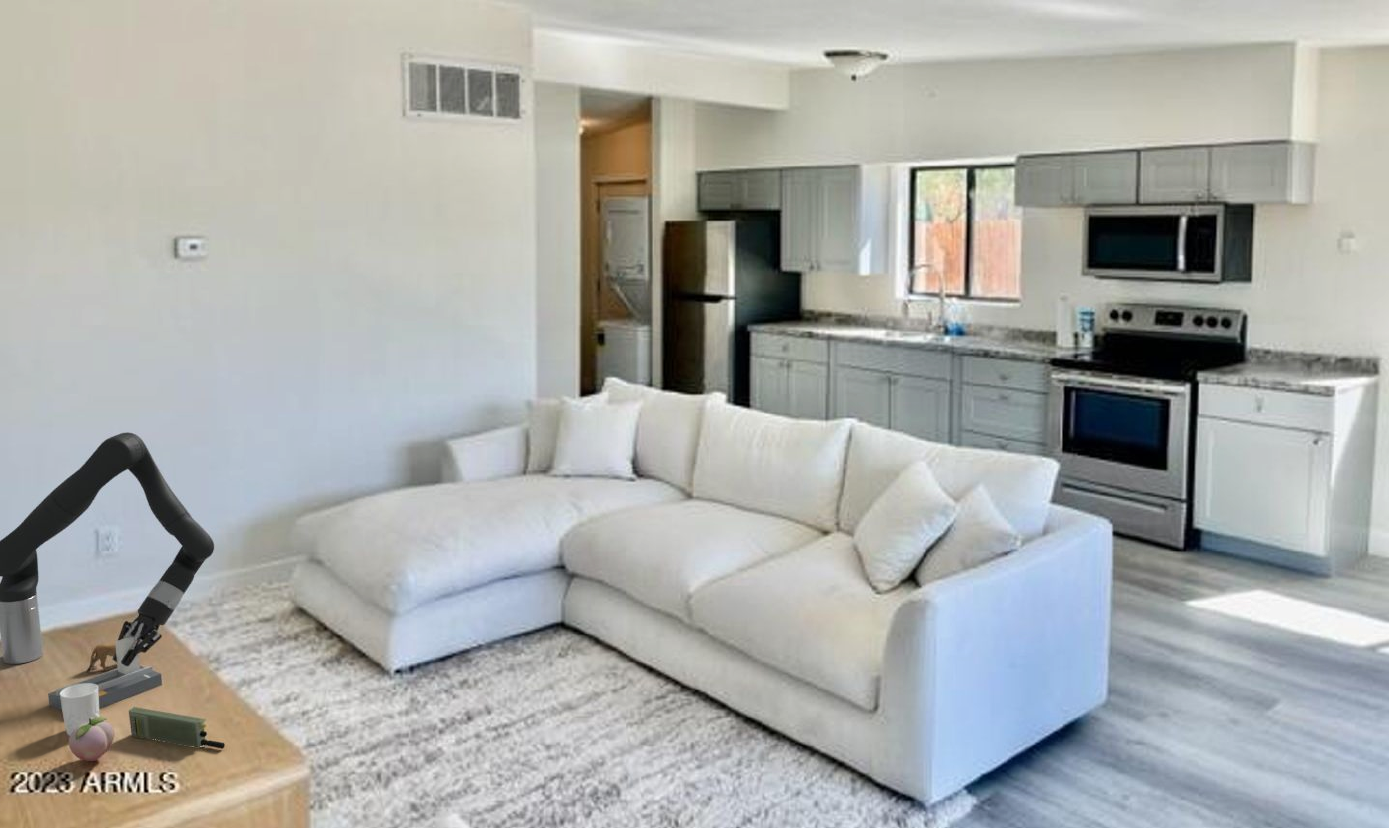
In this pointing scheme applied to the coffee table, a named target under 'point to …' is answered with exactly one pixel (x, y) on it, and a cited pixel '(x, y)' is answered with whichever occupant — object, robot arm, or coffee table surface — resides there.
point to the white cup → (79, 704)
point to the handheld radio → (169, 728)
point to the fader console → (115, 686)
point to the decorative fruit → (91, 739)
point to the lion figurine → (102, 655)
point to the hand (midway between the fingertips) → (120, 662)
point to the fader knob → (121, 651)
